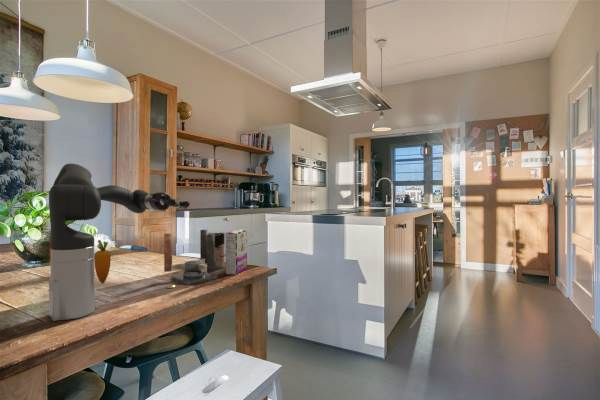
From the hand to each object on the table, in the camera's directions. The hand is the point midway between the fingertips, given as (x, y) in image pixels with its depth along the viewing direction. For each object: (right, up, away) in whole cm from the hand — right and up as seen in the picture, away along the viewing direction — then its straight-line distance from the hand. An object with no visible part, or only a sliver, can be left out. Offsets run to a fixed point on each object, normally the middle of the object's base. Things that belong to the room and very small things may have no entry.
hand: (179, 201), depth 125 cm
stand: (+6, -28, -9) cm, 31 cm away
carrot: (-21, -29, -15) cm, 38 cm away
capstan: (+9, -25, -8) cm, 28 cm away
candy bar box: (+22, -29, +4) cm, 36 cm away
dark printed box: (+12, -28, +11) cm, 32 cm away
